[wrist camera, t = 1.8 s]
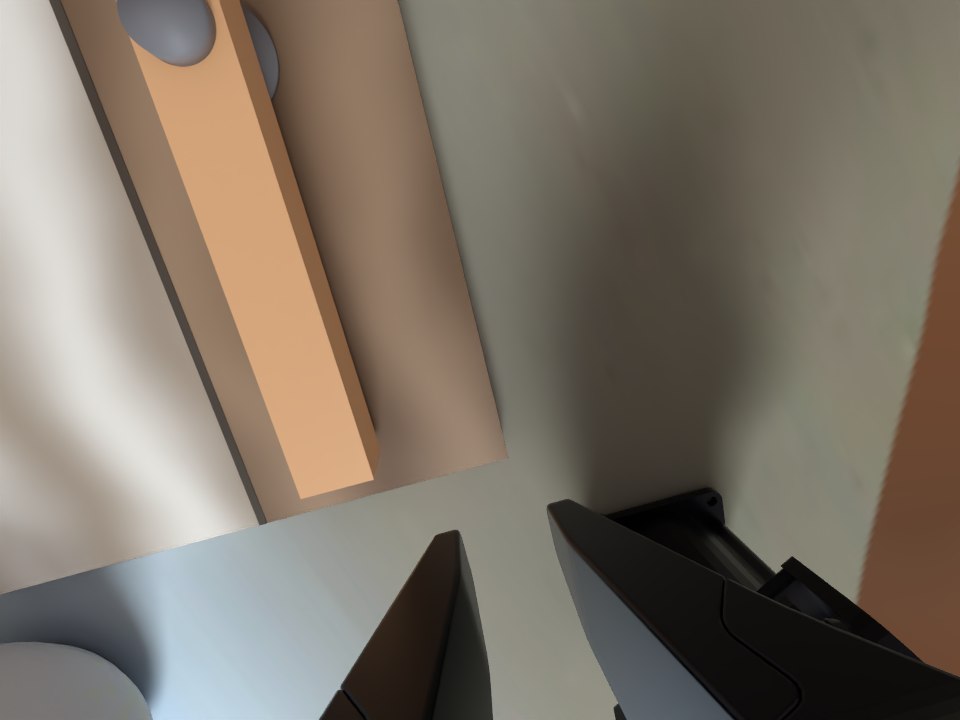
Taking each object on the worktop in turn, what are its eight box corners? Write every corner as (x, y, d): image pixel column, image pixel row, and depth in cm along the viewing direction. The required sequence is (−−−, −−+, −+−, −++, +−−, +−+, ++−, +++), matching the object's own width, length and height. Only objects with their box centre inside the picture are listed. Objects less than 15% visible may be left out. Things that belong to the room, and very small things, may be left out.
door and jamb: (346, -199, 16) (317, -366, 12) (502, 443, 22) (522, 494, 17) (-374, -56, 15) (-707, -180, 10) (-6, 579, 21) (-121, 669, 16)
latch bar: (156, 13, 15) (83, -49, 12) (237, -5, 15) (187, -70, 12) (316, 466, 19) (294, 511, 16) (380, 449, 19) (371, 491, 16)
